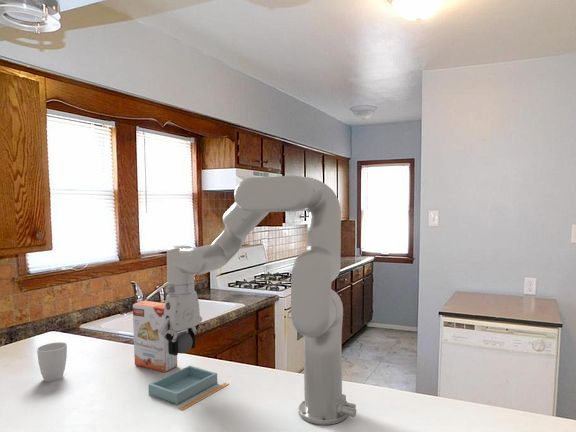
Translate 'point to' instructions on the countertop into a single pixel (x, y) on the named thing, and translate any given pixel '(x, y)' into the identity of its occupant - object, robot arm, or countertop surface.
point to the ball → (184, 342)
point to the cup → (52, 360)
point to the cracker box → (151, 337)
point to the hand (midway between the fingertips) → (182, 350)
